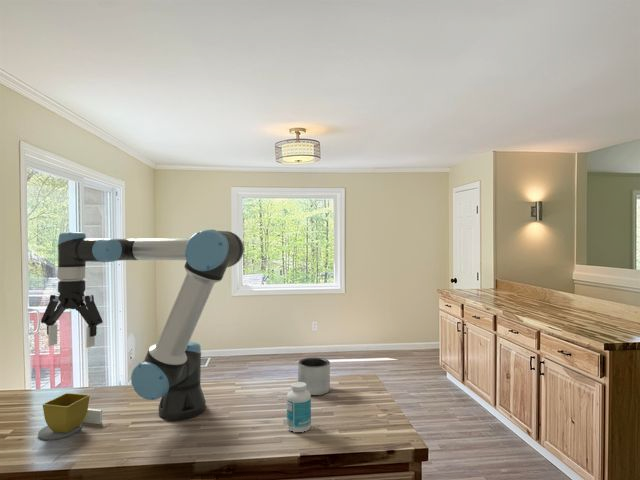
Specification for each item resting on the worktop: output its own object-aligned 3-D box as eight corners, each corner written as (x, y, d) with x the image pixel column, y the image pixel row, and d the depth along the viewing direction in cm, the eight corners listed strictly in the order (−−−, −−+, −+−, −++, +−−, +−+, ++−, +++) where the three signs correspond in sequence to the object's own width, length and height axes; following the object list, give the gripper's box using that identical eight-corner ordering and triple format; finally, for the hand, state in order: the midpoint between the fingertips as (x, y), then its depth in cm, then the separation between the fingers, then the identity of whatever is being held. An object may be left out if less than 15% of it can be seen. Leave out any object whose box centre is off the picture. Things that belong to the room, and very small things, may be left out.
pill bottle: (314, 424, 123) (314, 381, 123) (305, 435, 116) (306, 390, 116) (292, 421, 125) (292, 379, 125) (282, 431, 118) (283, 387, 118)
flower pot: (67, 437, 112) (67, 406, 112) (41, 434, 114) (41, 404, 114) (90, 423, 121) (90, 394, 121) (66, 421, 122) (66, 392, 123)
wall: (102, 422, 124) (102, 409, 124) (99, 423, 123) (99, 411, 123) (64, 418, 126) (64, 406, 126) (61, 419, 125) (62, 407, 125)
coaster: (90, 424, 122) (90, 422, 122) (60, 442, 111) (60, 439, 111) (60, 421, 124) (60, 418, 124) (28, 438, 113) (28, 435, 114)
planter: (294, 395, 146) (294, 366, 146) (301, 383, 159) (301, 356, 159) (327, 398, 144) (327, 367, 144) (332, 385, 157) (332, 358, 157)
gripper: (114, 279, 128) (114, 344, 128) (47, 278, 131) (47, 341, 131) (98, 281, 120) (98, 350, 120) (27, 280, 124) (27, 347, 124)
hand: (71, 345), depth 126 cm, fingers open, 13 cm apart
